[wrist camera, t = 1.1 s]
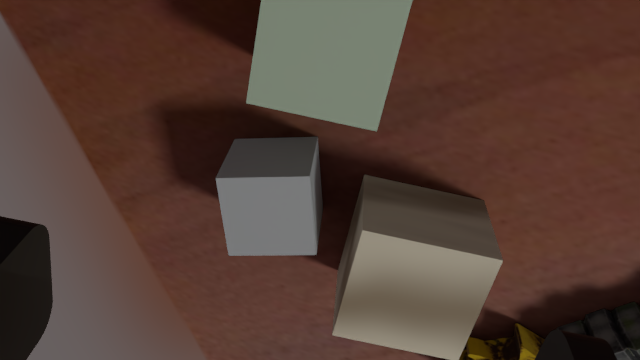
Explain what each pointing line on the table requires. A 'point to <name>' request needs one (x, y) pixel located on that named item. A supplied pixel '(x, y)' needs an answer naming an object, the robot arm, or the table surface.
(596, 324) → the toy gun
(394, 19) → the green cube
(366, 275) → the maple block
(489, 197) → the table surface
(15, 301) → the robot arm
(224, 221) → the grey block
